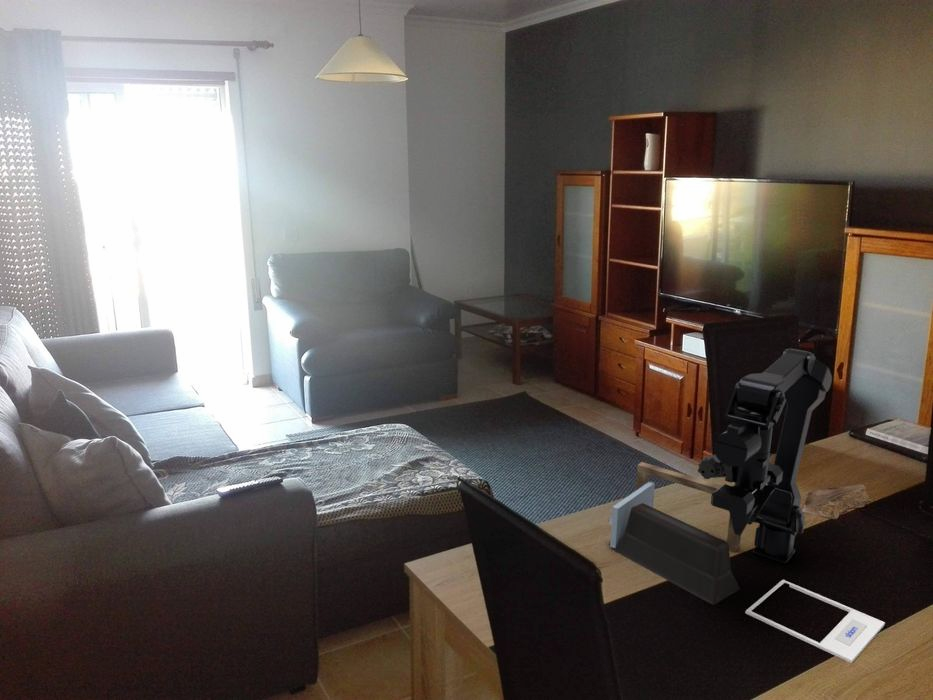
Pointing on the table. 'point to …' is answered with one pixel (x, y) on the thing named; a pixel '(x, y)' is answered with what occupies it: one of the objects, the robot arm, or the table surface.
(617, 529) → the door
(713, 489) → the door frame
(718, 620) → the table surface
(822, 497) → the wooden fragment
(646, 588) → the table surface
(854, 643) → the photo frame
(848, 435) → the table surface
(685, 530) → the barrier
